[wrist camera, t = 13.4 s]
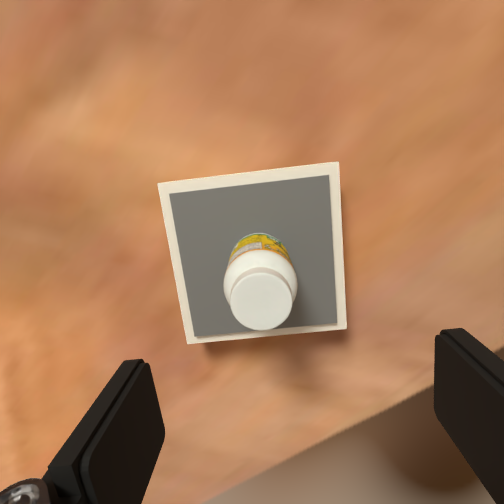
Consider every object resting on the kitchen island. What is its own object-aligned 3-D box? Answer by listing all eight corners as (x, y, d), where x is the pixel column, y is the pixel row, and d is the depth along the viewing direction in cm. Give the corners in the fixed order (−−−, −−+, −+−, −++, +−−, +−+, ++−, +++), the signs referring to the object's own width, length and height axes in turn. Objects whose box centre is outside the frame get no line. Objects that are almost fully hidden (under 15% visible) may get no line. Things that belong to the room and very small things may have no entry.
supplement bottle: (221, 245, 29) (204, 280, 20) (275, 222, 29) (284, 247, 19) (244, 296, 31) (239, 351, 21) (297, 275, 30) (315, 322, 21)
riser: (327, 162, 32) (340, 161, 27) (336, 309, 36) (348, 331, 31) (170, 181, 33) (155, 183, 28) (195, 323, 37) (186, 346, 32)
